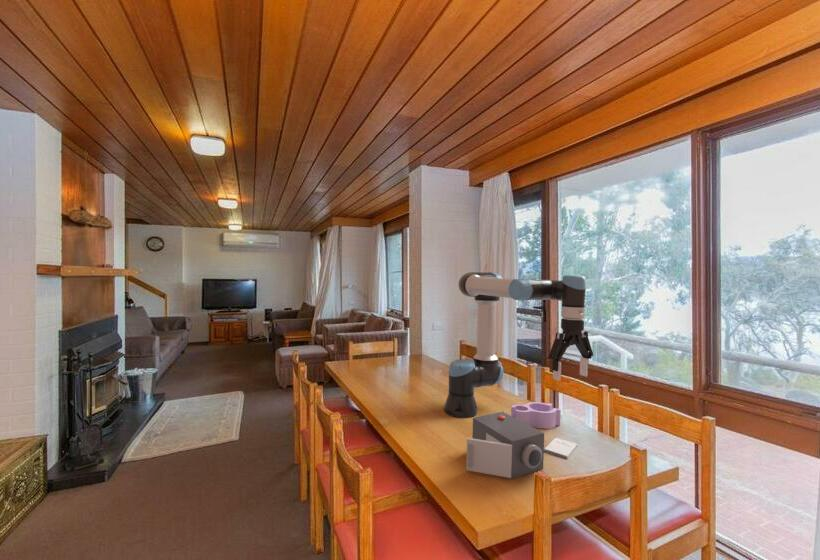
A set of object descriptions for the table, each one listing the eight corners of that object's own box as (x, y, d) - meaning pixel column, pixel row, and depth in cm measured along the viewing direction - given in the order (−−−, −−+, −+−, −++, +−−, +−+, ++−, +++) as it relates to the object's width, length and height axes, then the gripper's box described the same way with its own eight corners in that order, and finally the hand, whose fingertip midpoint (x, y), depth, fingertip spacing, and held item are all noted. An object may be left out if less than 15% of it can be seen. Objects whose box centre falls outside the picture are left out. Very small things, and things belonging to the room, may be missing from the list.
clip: (519, 430, 149) (520, 414, 149) (506, 418, 162) (507, 403, 162) (564, 428, 153) (564, 412, 153) (547, 416, 165) (548, 401, 165)
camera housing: (471, 450, 132) (472, 415, 131) (501, 442, 138) (502, 409, 138) (518, 484, 111) (519, 442, 111) (550, 473, 118) (551, 434, 118)
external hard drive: (543, 453, 132) (554, 441, 142) (567, 460, 127) (577, 447, 137) (544, 448, 132) (554, 436, 142) (567, 456, 127) (577, 443, 137)
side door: (465, 471, 116) (466, 440, 116) (466, 468, 118) (467, 437, 118) (510, 479, 112) (511, 447, 111) (511, 476, 114) (512, 444, 114)
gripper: (555, 321, 121) (553, 384, 121) (605, 318, 132) (603, 376, 132) (538, 318, 127) (536, 378, 128) (587, 316, 138) (585, 371, 139)
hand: (570, 377), depth 130 cm, fingers open, 13 cm apart
